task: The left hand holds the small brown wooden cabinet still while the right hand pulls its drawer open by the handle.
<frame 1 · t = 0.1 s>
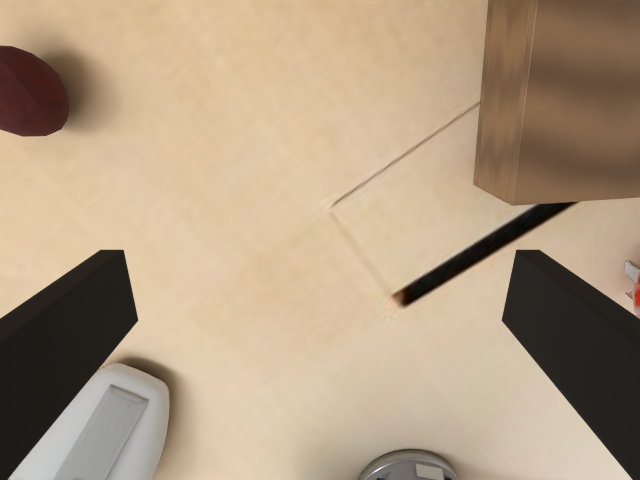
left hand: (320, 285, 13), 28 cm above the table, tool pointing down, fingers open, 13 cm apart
dark red round piece: (48, 95, 36), on the table
projector: (115, 420, 52), on the table
cabinet: (539, 82, 36), on the table
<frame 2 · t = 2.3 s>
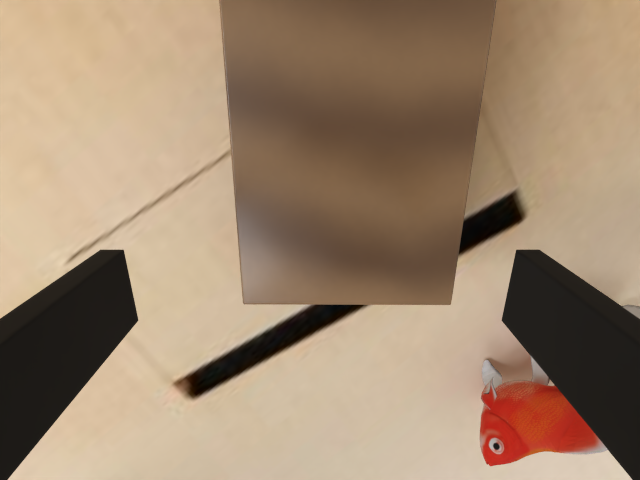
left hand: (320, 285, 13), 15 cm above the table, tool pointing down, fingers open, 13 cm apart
fish: (531, 347, 31), on the table
cabinet: (342, 110, 24), on the table
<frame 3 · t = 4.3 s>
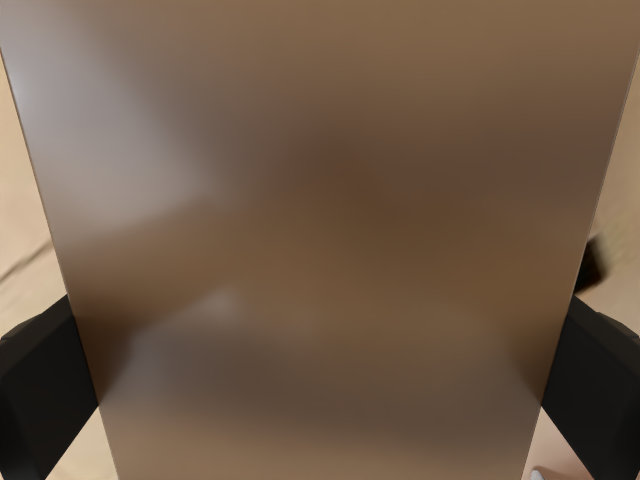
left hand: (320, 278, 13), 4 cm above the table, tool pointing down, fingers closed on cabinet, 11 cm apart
cabinet: (319, 114, 15), on the table, touching left hand
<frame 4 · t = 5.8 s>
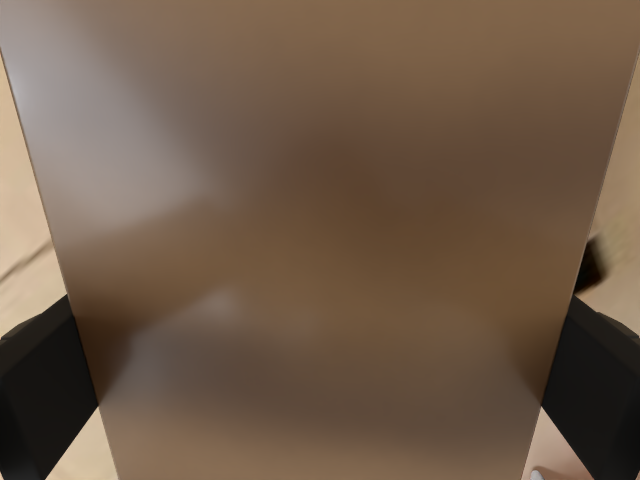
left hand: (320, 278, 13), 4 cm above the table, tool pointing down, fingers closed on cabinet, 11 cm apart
cabinet: (319, 114, 15), on the table, touching left hand
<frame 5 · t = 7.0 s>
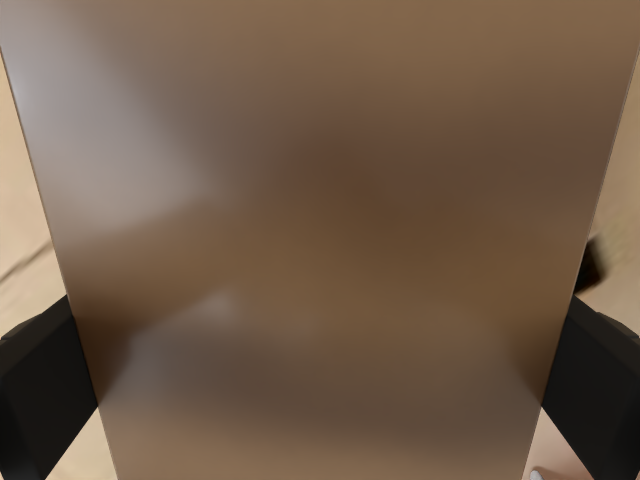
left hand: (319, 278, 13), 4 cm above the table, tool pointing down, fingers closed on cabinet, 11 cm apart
cabinet: (319, 114, 15), on the table, touching left hand
when the left hand's fingers open (4 cm above the table, at t = 8.8 s): cabinet stays where it is, on the table.
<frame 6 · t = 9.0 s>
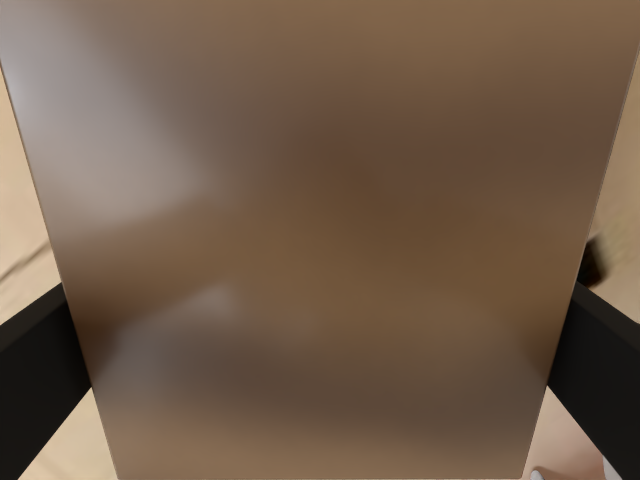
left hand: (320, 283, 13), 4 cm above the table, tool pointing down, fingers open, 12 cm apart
fish: (601, 453, 22), on the table
cabinet: (318, 104, 15), on the table
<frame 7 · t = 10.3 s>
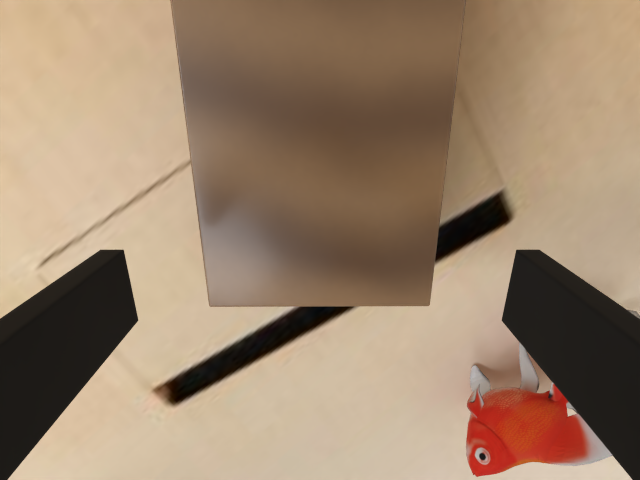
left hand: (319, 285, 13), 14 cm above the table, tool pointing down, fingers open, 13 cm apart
fish: (521, 352, 30), on the table
cabinet: (319, 102, 23), on the table
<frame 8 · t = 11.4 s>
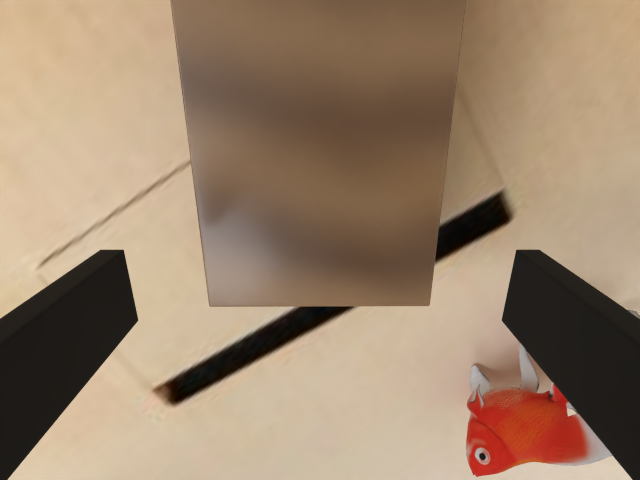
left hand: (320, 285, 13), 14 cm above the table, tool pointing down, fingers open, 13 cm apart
fish: (521, 352, 30), on the table
cabinet: (319, 102, 23), on the table
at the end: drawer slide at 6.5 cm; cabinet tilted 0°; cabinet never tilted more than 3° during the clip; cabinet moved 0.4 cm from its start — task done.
